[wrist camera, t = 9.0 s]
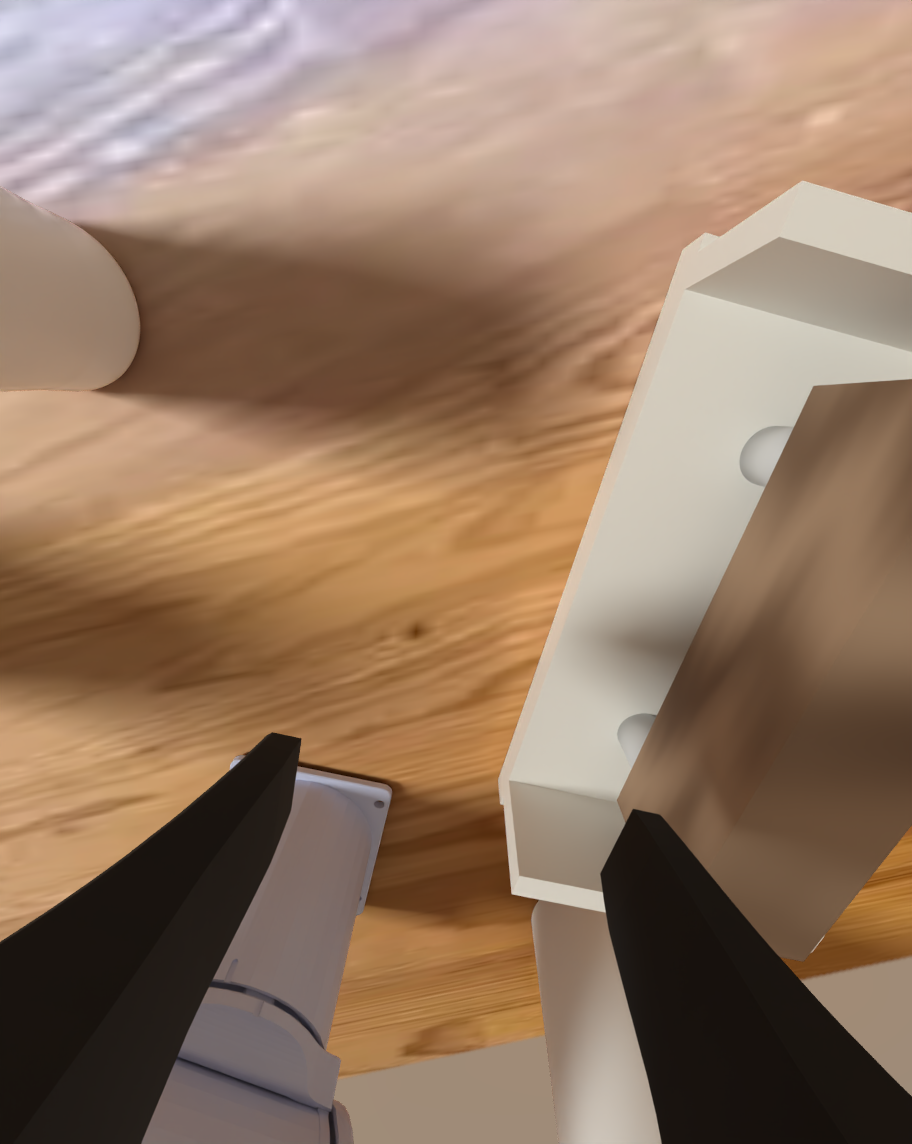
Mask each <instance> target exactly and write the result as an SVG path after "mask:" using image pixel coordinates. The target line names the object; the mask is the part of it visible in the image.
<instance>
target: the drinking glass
mask: <svg viewBox="0 0 912 1144" xmlns="http://www.w3.org/2000/svg"><path fill="white" fill-rule="evenodd" d="M139 340H140V317H139V311H138V306H137V302H136V299H135V296H134V293H133V290H132V288H131V286H130V284H129V281H128V280H127V278H126V276H125V274H124V272H123V271H122V269H121V268H120V266H119V265H118V263H117V262H116V261H115V259H114V258H113V257H112V255H111V254H110V253H109V252H108V251H107V250H106V249H105V248H104V247H103V246H102V245H101V244H100V243H99V242H98V241H97V240H96V239H95V238H94V237H92V236H91V235H90V234H89V233H87V232H86V231H85V230H83V229H82V228H80V227H79V226H77V225H75V224H74V223H72V222H70V221H68V220H67V219H65V218H62V217H60V216H58V215H56V214H54V213H52V212H50V211H48V210H46V209H44V208H42V207H40V206H37V205H35V204H33V203H31V202H29V201H27V200H25V199H23V198H21V197H20V196H18V195H16V194H14V193H12V192H11V191H9V190H7V189H5V188H4V187H2V186H0V392H8V391H31V390H49V391H73V392H79V391H90V390H95V389H99V388H102V387H104V386H107V385H109V384H111V383H112V382H114V381H116V380H117V379H118V378H119V377H121V376H122V375H123V374H124V373H125V372H126V370H127V369H128V368H129V366H130V365H131V363H132V361H133V359H134V357H135V355H136V352H137V349H138V345H139Z"/></svg>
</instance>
